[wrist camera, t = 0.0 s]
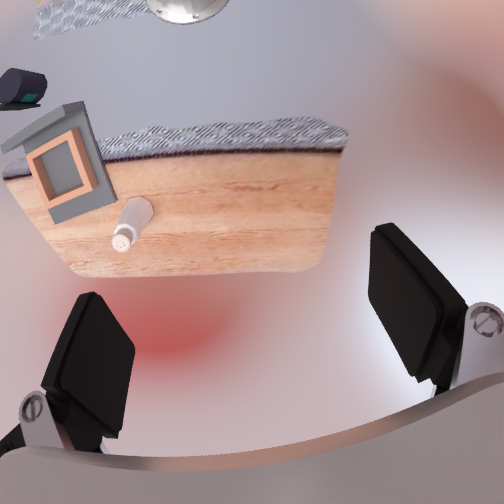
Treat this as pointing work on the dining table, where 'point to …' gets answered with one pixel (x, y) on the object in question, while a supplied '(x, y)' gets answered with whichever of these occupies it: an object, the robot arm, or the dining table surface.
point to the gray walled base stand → (65, 162)
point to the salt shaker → (131, 222)
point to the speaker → (21, 89)
